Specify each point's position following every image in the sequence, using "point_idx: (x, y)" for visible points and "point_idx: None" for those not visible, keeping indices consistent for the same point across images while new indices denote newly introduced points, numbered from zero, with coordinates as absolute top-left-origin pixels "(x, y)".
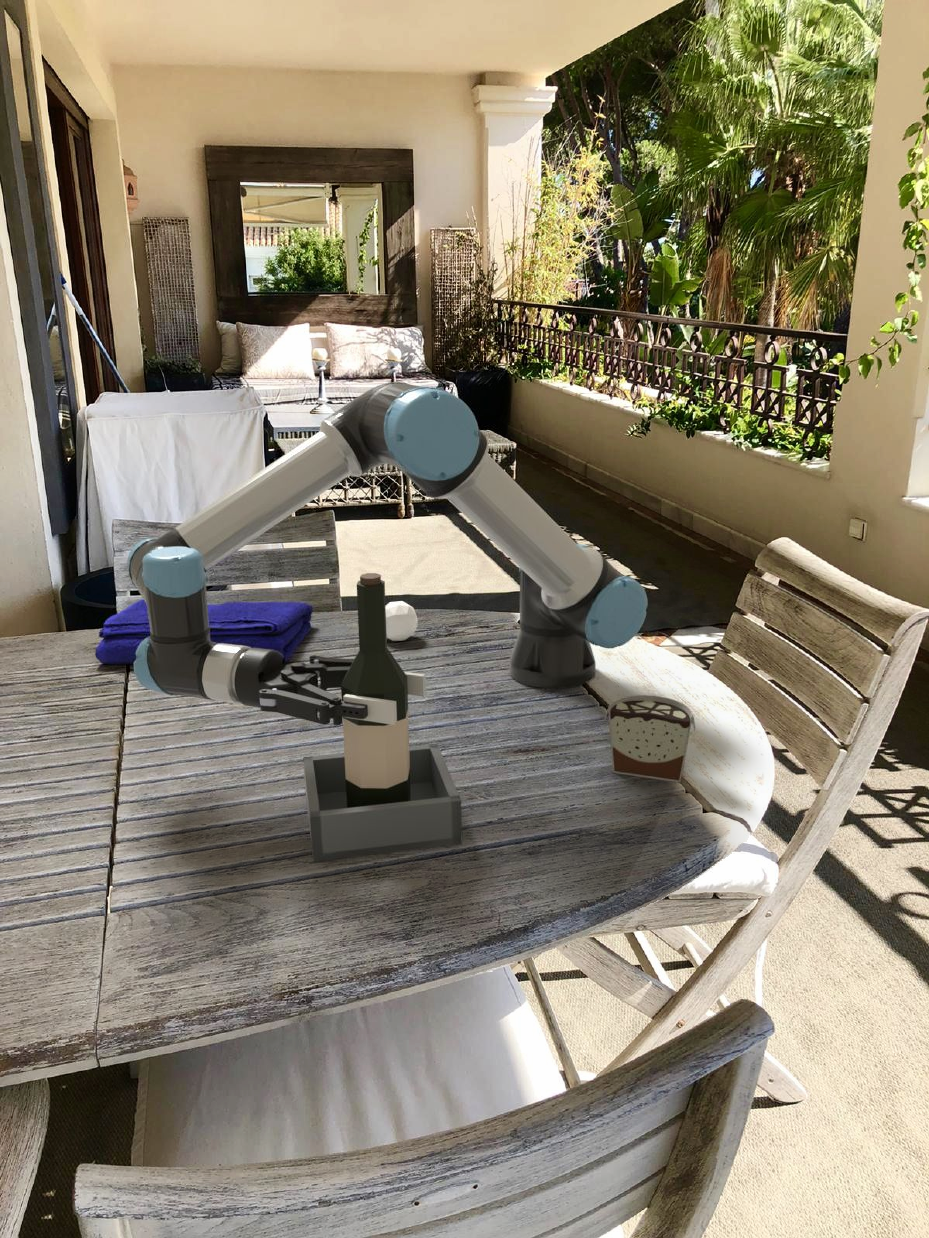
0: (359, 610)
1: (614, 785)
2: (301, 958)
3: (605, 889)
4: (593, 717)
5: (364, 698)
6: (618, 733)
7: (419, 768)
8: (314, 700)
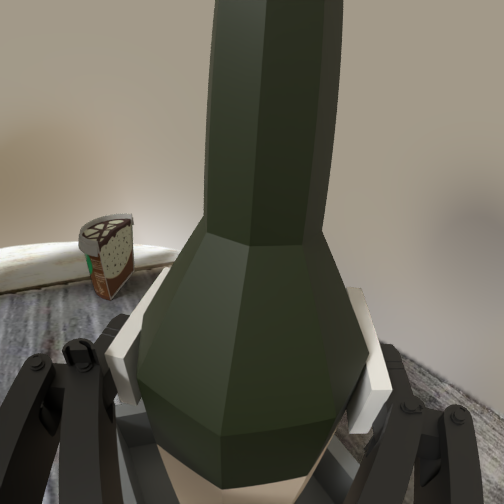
0: (330, 33)
1: (134, 300)
2: (496, 448)
3: None
4: (7, 303)
5: (372, 338)
6: (105, 262)
7: (126, 450)
8: (460, 452)
